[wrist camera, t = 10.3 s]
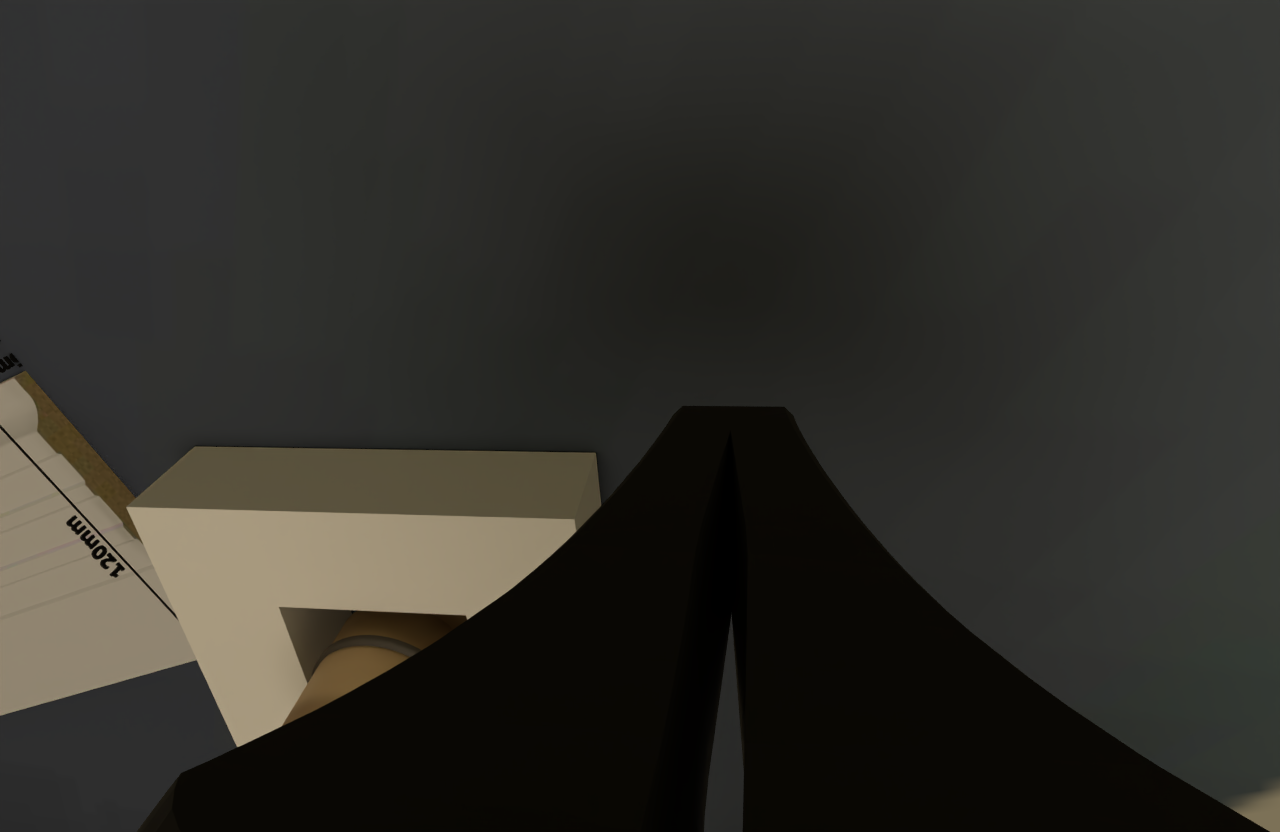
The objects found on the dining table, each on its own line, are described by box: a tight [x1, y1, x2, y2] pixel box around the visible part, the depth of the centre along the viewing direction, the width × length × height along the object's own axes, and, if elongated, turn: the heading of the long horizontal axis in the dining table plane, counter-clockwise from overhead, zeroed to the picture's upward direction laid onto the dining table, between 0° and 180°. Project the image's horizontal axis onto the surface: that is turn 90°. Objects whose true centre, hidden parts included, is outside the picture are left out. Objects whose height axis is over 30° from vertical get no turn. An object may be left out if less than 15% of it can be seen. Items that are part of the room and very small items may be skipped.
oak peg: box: [282, 610, 467, 726], centre depth 22 cm, size 4×4×9 cm
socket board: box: [126, 446, 601, 747], centre depth 24 cm, size 12×12×3 cm
